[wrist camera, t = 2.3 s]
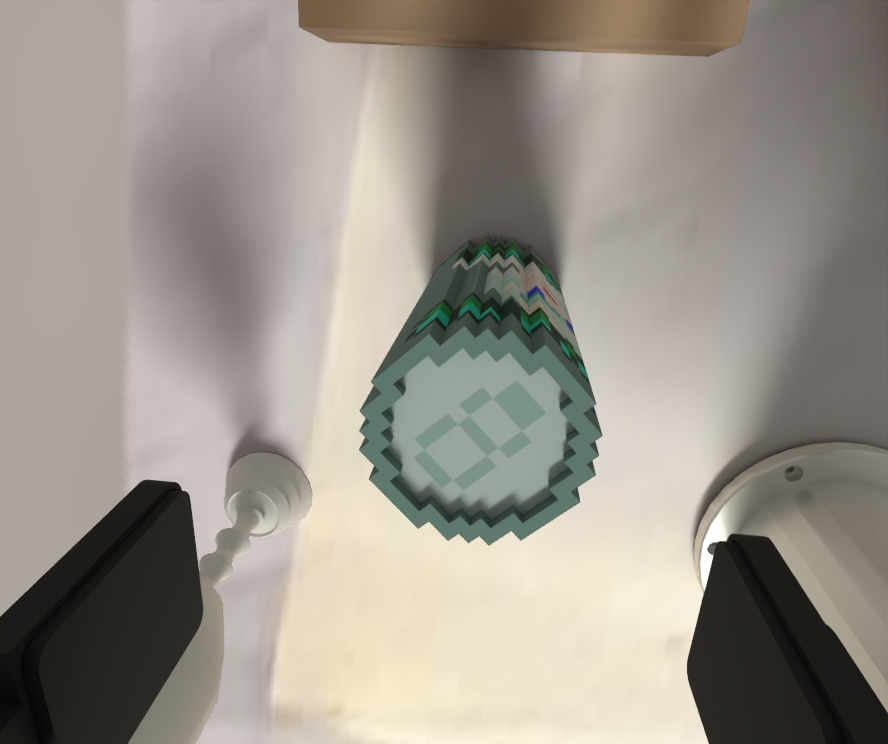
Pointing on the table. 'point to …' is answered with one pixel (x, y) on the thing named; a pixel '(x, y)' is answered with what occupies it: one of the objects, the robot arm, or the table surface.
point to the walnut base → (533, 24)
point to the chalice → (199, 669)
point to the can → (483, 400)
